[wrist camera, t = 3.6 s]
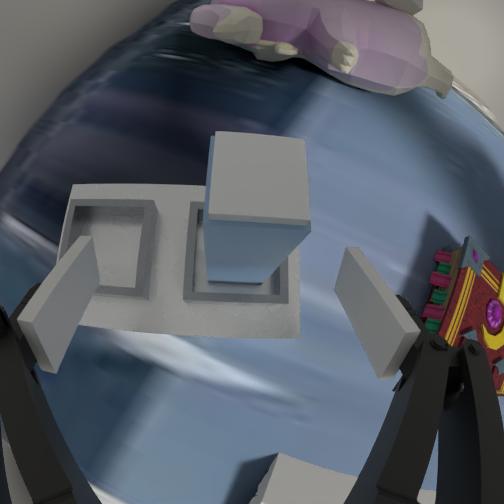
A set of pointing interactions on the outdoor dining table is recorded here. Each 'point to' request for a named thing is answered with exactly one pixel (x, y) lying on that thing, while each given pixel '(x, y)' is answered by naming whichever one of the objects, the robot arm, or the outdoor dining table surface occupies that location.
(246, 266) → the plug
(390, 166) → the outdoor dining table surface
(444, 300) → the decorative book
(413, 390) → the robot arm
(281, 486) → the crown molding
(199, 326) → the panel
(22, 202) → the outdoor dining table surface
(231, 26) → the toy
